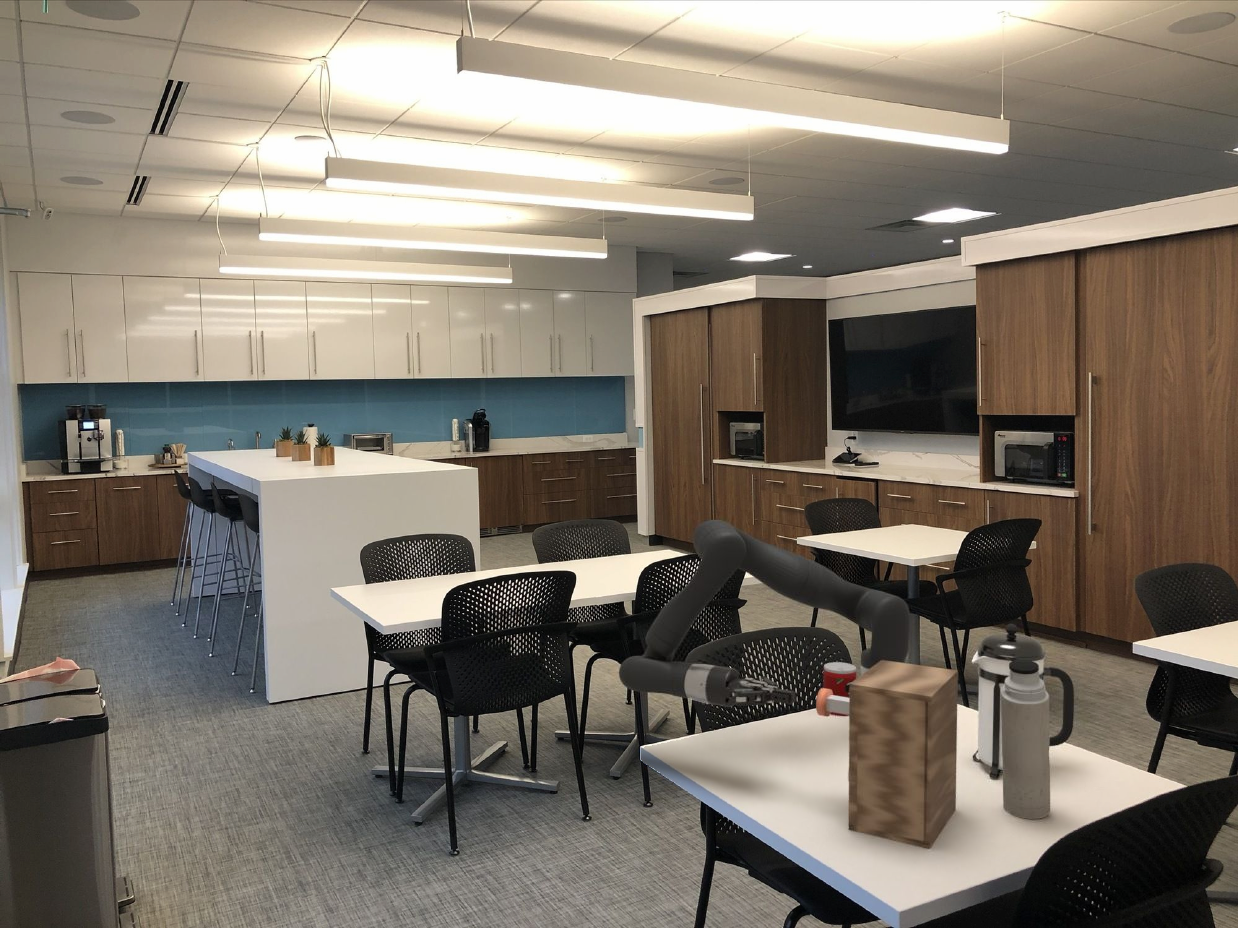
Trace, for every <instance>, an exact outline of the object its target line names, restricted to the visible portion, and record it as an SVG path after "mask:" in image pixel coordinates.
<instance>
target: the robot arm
mask: <svg viewBox="0 0 1238 928" xmlns="http://www.w3.org/2000/svg"><path fill="white" fill-rule="evenodd" d="M692 543H693V548H694V550H695V553H696V554H697V555H698V557H699V558H700V559H701V560H700V562H699V564H698V567H697V568H696V571H695V572H694V575H693V576H692V578H691V579H690V581H689V582H688V583H687V584H686V585H685V587H684V588H682V589H681V590H680V591H679V592H678V593H677V594H676V595H674V596H673V597H672V598H671V599H670V600H669V601H668V602H666V604H665V605H664V606H663V608H662V609H661V610H660V612H659V613H658V615H657V616H656V618H655V619H654V620H653V622H652V624H651V626H650V628H649V629H648V631H647V632H646V636H645V643H646V645H647V648H646V649H645V651H644V653H643V654H642V655H632V656H629V657H628V658H626V659H624V660H623V661H622V662H621V664H620V666H619V669H618V677H619V680H620V681H621V683H622V685H623V686H624V687H626V688H627V689H628V690H631V691H634V692H640V693H648V694H649V693H650V694H651V693H652V694H664V695H671V696H674V697H678V698H683V699H689V700H693V701H696V702H699V703H704V704H709V705H717V706H722V707H726V708H730V707H731V708H732V707H733V706H735V705H736V706H737V707H744V706H745V707H746V706H766V705H768V704H773V703H781V704H786V705H793V704H794V703H795V702H796V692H795V691H793V690H789V689H782V688H779V684H778V683H777V682H774V681H773V680H771V679H769V678H767V677H765V676H761V677H760V680H758V679H757V680H756V679H755V678H751V677H745V678H742V677H741V675H740V672H739V670H737V669H736V668H733V667H726V666H719V665H713V664H705V663H691V662H685V661H674V660H673V659H674V656H675V653H676V651H677V650H678V648H679V646H680V645H681V644H682V642H683V641H684V639H685V638H686V635H687V634H688V632H689V631H690V629H691V627H692V626H693V625H694V622H695V621H697V619H698V617H699V615H700V614H701V613H702V611H703V610H705V608H706V606H707V605H708V604H709V603H710V601H711V600H712V599H713V598H714V597H715V595H716V594H718V592H719V591H720V590H721V589H722V587H724V585H725V584H726V583H727V582H728V580H729V579H730V578H731V577H732V576H733V575H734V574H735V573H736V572H737V570H738V569H739V570H741V571H743V572H745V573H747V574H748V575H751V576H752V577H753V578H755V579H756V580H758V581H759V582H760V583H762V584H763V585H765V586H766V587H768V588H770V589H771V590H773V591H774V592H777V593H778V594H780V595H781V596H783V597H784V598H788V599H789V600H792V601H794V602H797V603H799V604H803V605H805V606H809V607H813V608H816V609H821V610H826V611H830V612H834V613H835V614H838V615H839V616H841V617H843V618H845V619H847V620H848V621H851V622H852V623H853V624H856V625H857V626H859V627H861V628H862V629H863V630H866V631H867V632H870V633H871V644H870V647H869V648H865V649H863V651H861V653H860V676H861V675H862V674H864V673H865V672H866V671H868V670H869V669H870V668H872V667H873V666H874V665H876V664H877V663H878V662H880V661H881V660H885V661H893V662H900V663H906V661H905V660H906V659H907V656H908V653H909V649H910V647H909V646H910V634H911V633H910V632H911V614H910V610H909V606H908V604H907V602H906V601H905V600H904V599H902V598H901V597H900V596H897V595H894V594H891V593H889V592H884V591H881V590H877V589H873V588H868V587H865V586H861V585H858V584H855V583H852V582H850V581H847V580H845V579H843V578H842V577H840V576H839V575H837V574H836V573H835V572H834V571H832V570H830V568H828V567H826V566H824V565H821V564H820V563H818V562H816V561H813V560H812V559H809V558H807V557H804V556H802V555H799V554H797V553H793V552H792V551H789V550H786V549H784V548H781V547H777V546H775V545H772V544H770V543H766V542H764V541H761V540H759V539H757V538H755V537H753V536H752V535H749V534H748V533H746V532H744V531H742V530H741V529H738V528H737V527H735V526H733V525H732V524H730V523H728V522H727V521H726V520H721V519H710V520H706V521H704V522H702V523H700V524H699V525H698V526H697V527H696V528H695V529H694V532H693V535H692ZM777 593H776V594H777Z"/></svg>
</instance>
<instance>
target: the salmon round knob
mask: <svg viewBox="0 0 1238 928" xmlns="http://www.w3.org/2000/svg"><path fill="white" fill-rule="evenodd" d="M815 702H816V703H815V705H816V706H815V709H816V713H817V715H818V716H822V717H829V716H831V715H832V714H831V712H835V713H841V714H846V715H849V698H847V697H841V696H835V695H833V692H832V690H831V689H825V688H824V687H822V688H820V689H819V691H818V692H817V696H816V700H815Z"/></svg>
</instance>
